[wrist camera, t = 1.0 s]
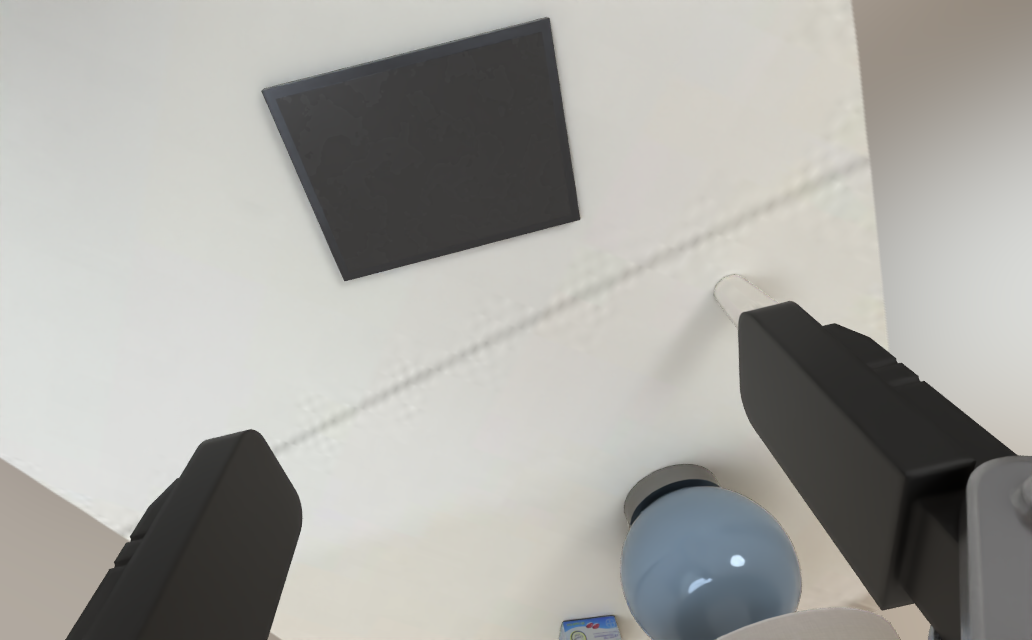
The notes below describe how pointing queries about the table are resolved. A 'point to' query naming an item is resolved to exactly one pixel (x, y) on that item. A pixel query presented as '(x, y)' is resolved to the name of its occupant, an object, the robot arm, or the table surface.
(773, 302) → the milkshake
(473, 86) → the plate
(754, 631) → the lamp
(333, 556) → the table surface
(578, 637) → the medicine box
